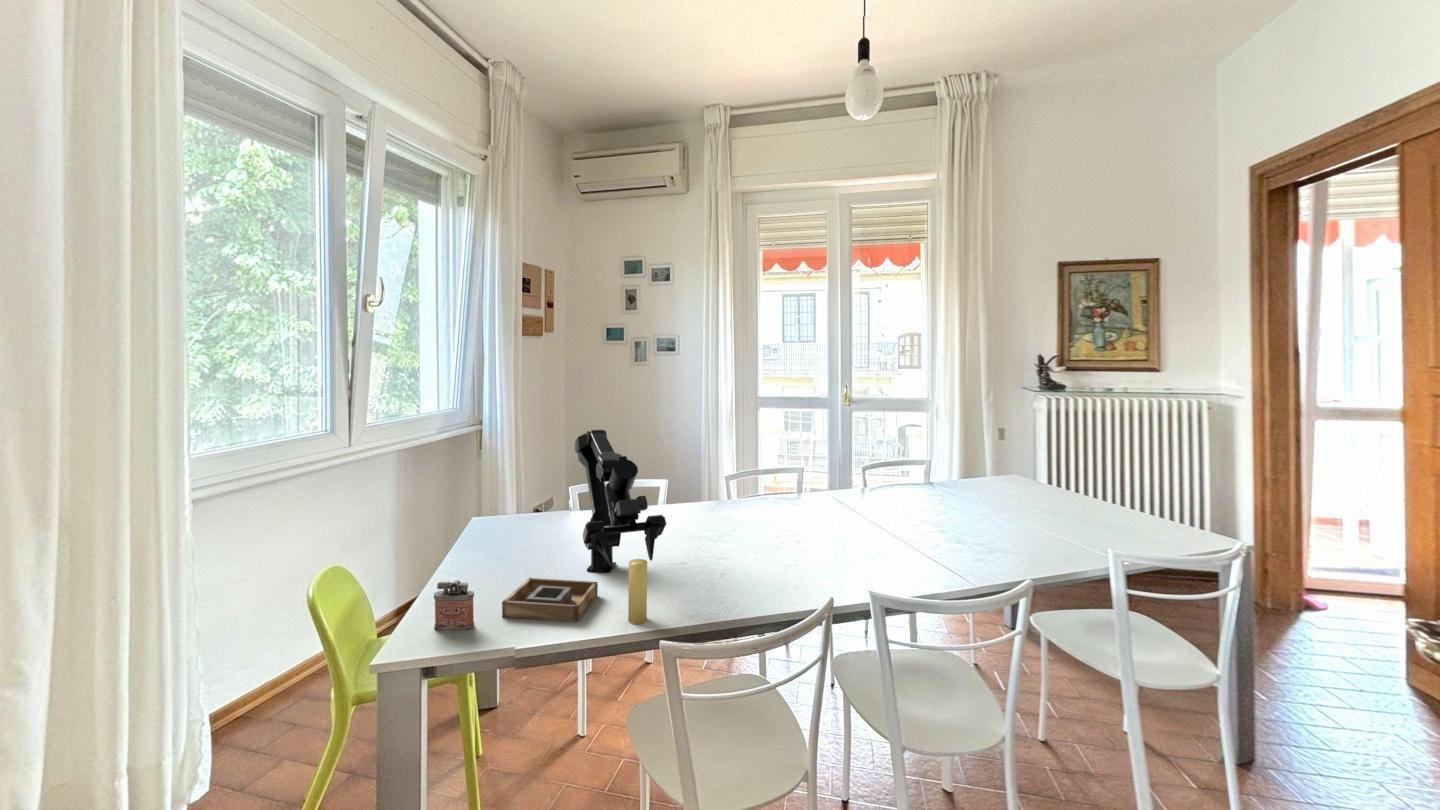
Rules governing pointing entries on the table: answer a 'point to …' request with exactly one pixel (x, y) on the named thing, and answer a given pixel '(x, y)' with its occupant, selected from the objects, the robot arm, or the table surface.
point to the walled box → (550, 600)
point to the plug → (637, 591)
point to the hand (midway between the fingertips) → (631, 562)
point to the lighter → (453, 607)
